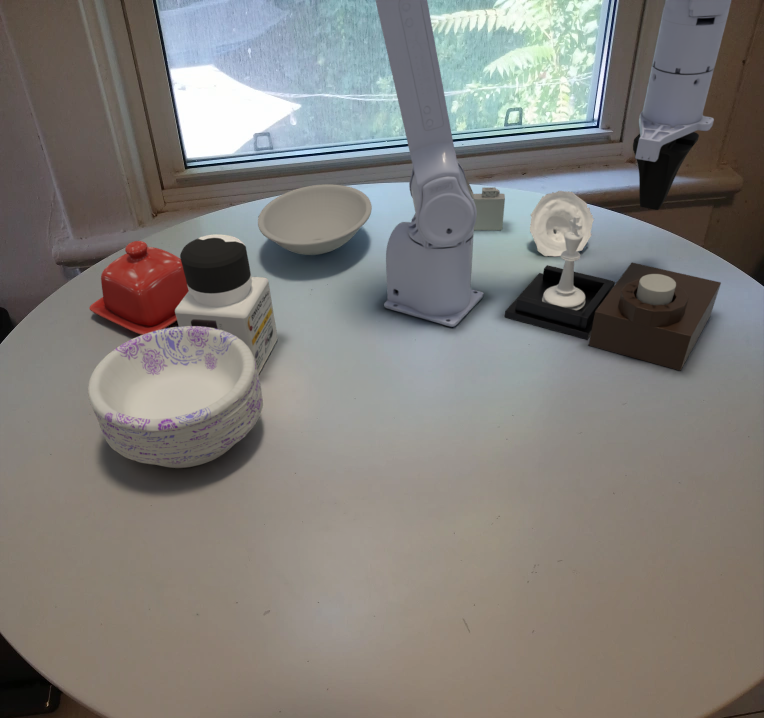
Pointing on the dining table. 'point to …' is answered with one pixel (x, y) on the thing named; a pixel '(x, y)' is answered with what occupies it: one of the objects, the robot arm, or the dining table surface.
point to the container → (227, 294)
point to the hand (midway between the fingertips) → (650, 206)
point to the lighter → (488, 208)
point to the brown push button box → (654, 318)
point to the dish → (315, 218)
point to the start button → (656, 289)
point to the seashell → (559, 222)
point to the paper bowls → (176, 395)
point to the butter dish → (142, 289)
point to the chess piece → (568, 273)
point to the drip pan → (557, 317)
